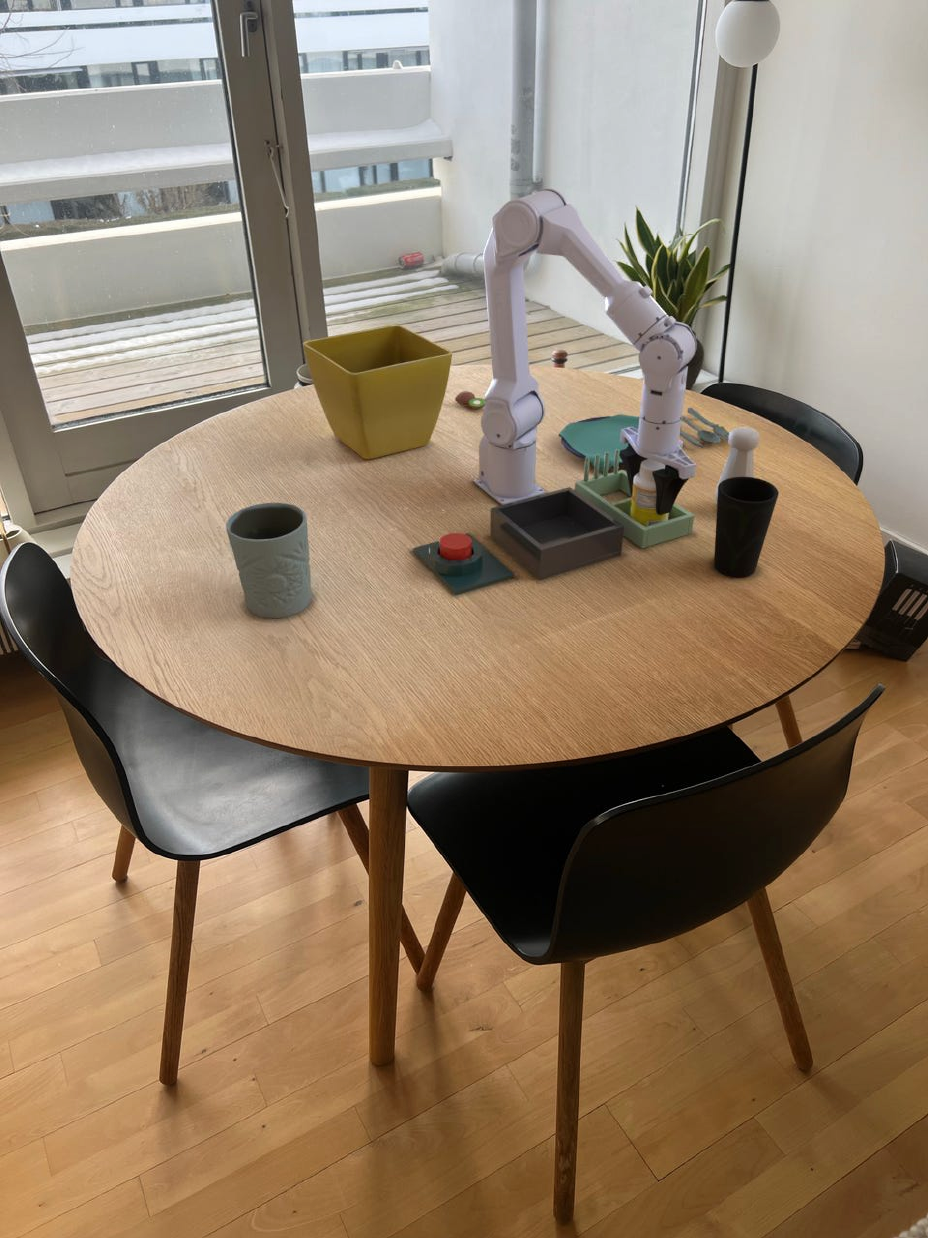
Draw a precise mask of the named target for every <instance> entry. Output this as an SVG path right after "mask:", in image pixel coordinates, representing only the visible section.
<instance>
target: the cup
mask: <svg viewBox="0 0 928 1238" xmlns="http://www.w3.org/2000/svg"><path fill="white" fill-rule="evenodd" d="M779 494H780V493H779V490H778V488H777V487H776V486H775V485H774V484H773V483H771V482H769V481H767V480H765V479H761V478H758V477H754V478H753V477H732V478H728V479H726V480H724V481H722V482H721V483H720V484H719V486H718V499H717V505H716V519H715V520H716V521H715V537H714V538H715V539H714V554H713V555H714V556H713V567H714V570H715V571H716V572H717V573H719V574H720V575H723V576H725V577H728V578H732V579H745V578H748V577H752V576H753V575H754V574H755V573H756V569H757V566H758V563H759V559H760V556H761V553H762V550H763V547H764V543H765V541H766V537H767V534H768V531H769V527H770V523H771V521H772V517H773V513H774V511H775V507H776V504H777V501H778V498H779Z"/></svg>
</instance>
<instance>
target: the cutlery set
mask: <svg viewBox="0 0 928 1238" xmlns="http://www.w3.org/2000/svg"><path fill="white" fill-rule="evenodd" d="M687 413H688V414H690V415H691V416H693V417H694V418H696V419H697V420H698V421H700V422H701V423H702V424H704V425H707V426H708V427H711V428H712V431H709V430H705V429H699V428H698V427H697V426H696V425H694V424H693V423H692V422H691V421H690V420H689V419H688V418H686V417H685V416H684V415H682V421H681V422H683V423H685V424H686V425H688V426H689V427H690V428H691V429H692V430H694V431H696V436H697V438H699V440H700V441H702V442H704V443H709V444H713V445H714V444H718V443H721V441H722V438H723V439H724V440H726V441H727V442H729V434H730V431H728V430H727V429H725V426H720V425H719V424H718V423H717V424H715V423H713V422H711V421H709V420H708V419H707V418H705V417H704V416H703V415H702V414H700V413H699V412H698V411H697V410H696V409H694V408H693V407H687ZM639 418H640V416H636V415H629V414H615V415H612V416H611V415H607V416H596V417H589V418H585V419H582V420H578V421H574V422H570V423H568V424H567V425H566V426H564V428H563V429H562V430H561V431H560V432H559V434H558V437H559V438H560V443H561V444H562V445H563V447H564V448H565V450H567V451H568V452H570V453H571V454H573V455H574V456H576V457H578V458H580V459H583V460H585V458H586V457H589V458H590V462H589V464H591V465H592V467H594V468H595V456H596V455H597V454H599V455H600V463H599V472H601V473H602V472H603V473H604V461H605V453H606V452H609V453H610V456H609V468H608V470H609V469H610V468H612V467H614V459H615V450H616V449H619V450H620V451H621V450H624V449H627V447H628V443H622V442H621V441H620V436H621V429H624V428H628V427H634V428H636V429H638V428H639ZM680 436H681V437H682V438H684V439H685V440H686V441H688V442H689V443H691V444H692V445H694V446H695V447H698V448H704V445H703V444H702V443H700V442H699V441H698V440H696V439H694V438H693V437H692V436H690V435H689V434H687V432H685V431H683V430H682V427H681V428H680ZM618 466H623V467H625V466H624V464H623V462H622V460H621V458H620V456H619V465H618Z"/></svg>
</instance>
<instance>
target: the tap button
mask: <svg viewBox="0 0 928 1238" xmlns="http://www.w3.org/2000/svg"><path fill="white" fill-rule="evenodd" d="M465 534H466V533H460V532H452V533H447V534H444V535H442V536H441V537H440V539H439V540H438V541H439V542H440V556H441V557H442V558H444V559H447V560H459V561H460V560H464V559H467V558H469V557H470V556H471V555H472V540H471V538H470V537H469V536H467V535H465Z"/></svg>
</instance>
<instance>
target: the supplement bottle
mask: <svg viewBox="0 0 928 1238" xmlns="http://www.w3.org/2000/svg"><path fill="white" fill-rule="evenodd" d="M660 469H665V465H664V464H662V463H660V462H657V461H654V460H651V459H647V460H644V461H642V462H641V466H640V472H639V473H637V474H636V475H635V477H634V481H633V491H632V502H631V513H630V517H631V518H633V519H634V520H636V521H637V522H638V523H640V524H641V525H643V526H644V527H647V526H650V525H654V524H657V523H660V522H664V521H667V520H668V516H669V513H666V514H663V515H658V514H657V512H656V485H655V480H654V477H653V475H652V472H653V471H656V470H660Z"/></svg>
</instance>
